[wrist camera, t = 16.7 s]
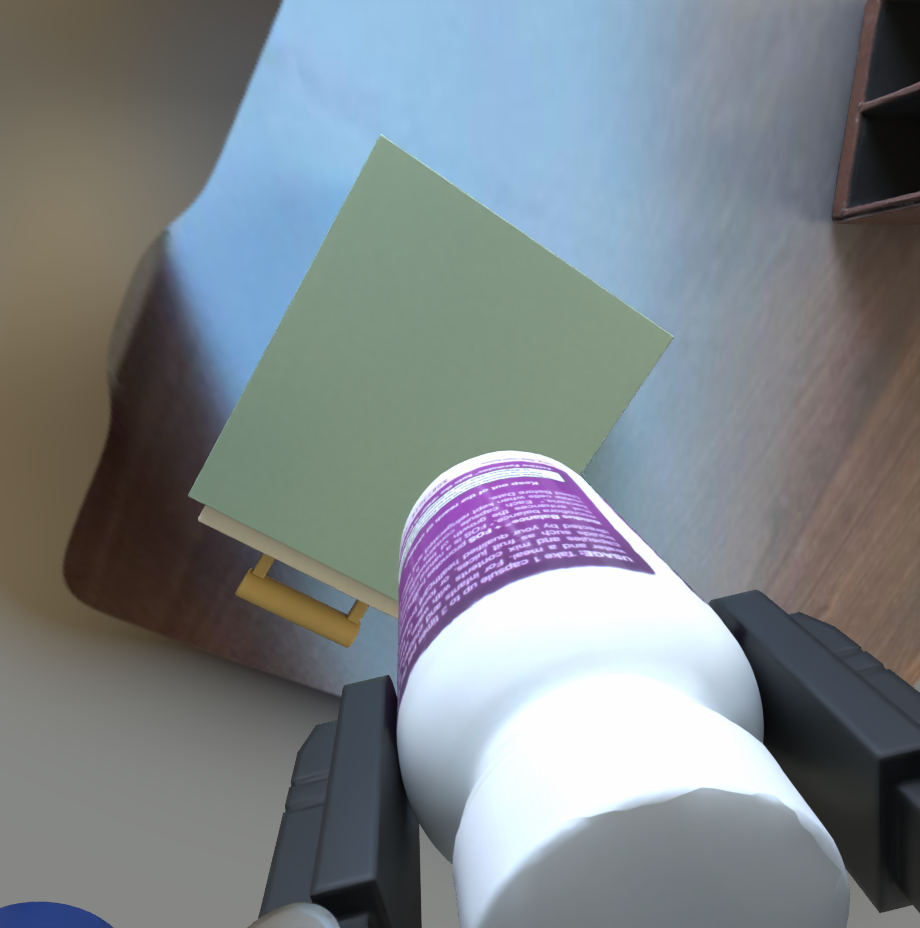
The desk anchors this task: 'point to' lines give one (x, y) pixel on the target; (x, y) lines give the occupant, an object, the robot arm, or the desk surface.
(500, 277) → the cabinet
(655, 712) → the pill bottle
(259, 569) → the drawer
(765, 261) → the desk surface
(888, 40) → the letter holder
